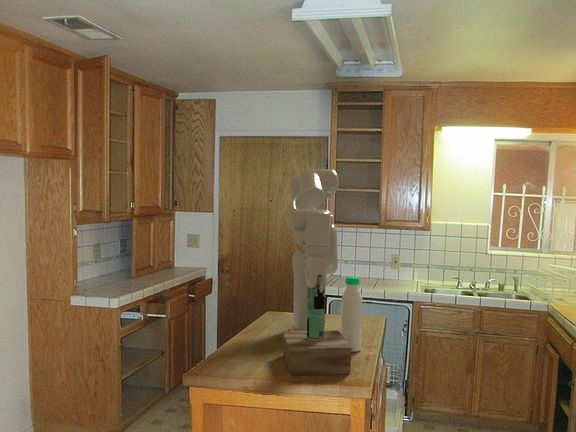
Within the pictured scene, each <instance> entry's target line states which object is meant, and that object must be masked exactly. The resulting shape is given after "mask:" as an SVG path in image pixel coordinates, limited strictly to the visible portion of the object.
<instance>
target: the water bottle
mask: <svg viewBox="0 0 576 432" xmlns="http://www.w3.org/2000/svg"><path fill="white" fill-rule="evenodd" d="M360 280H361V279H360V278H359V277H358V276H351V275H350V276H346V278H345V286H346V288H345V290H344V292H343V294H342V296H341V301H342V302H341V329H340V331H341V332H340V333H341V334H342V336H343V337H344V338H345V339H346V340H347V342H348V343H349V344H350V345H351V347H352V350H351V353H355V352H359V351H361V349H362V331H363V330H362V323H363V303H362V302H363V296H362V293H361V291H360V289H359V285H360V282H361V281H360Z"/></svg>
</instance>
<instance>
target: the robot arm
mask: <svg viewBox="0 0 576 432" xmlns="http://www.w3.org/2000/svg"><path fill="white" fill-rule="evenodd" d="M339 180H340V179H339V175H338V174H337V172H336V170H334V169H331V168H330V169H329V168H308V169H304V170H302V171H301V173H300V174H299V176H295V177H293V178H291V179H290V181H289V192H290V193H289V194H290V198H291V201H290V203H289V206H288V223H289V224H288V225H289V228H290V229H291V230H292V232H295V239H296V242H297V244H298V245H299V246H302V247H305V249H299V250H296V251H294V253H293V254H292V259H291V262H292V263H291V264H292V271H293V324H291V325H290V326H289V328H288V331H307V300H308V286H309V288H311V289H312V288H314V289H315V296H314V309H324V308H325V307H326V291H325V292H324V288H325V289H326V287H327V275H334V274H335V273H336V272H337V270H338V265H339V263H338V259H339V258H338V231H337V228H336V226H335V224H334V215H333V214H332V213H331V211H330V210H328V209H324V208H321V209H318V208H317V207H320V206H321V205H322V204H323V202H324V201H325V199H331V198H333V197H334V196H335V194H336V193H337V192H338V189H339V184H340V183H339V182H340V181H339ZM317 278H318V281H317ZM325 309H326V308H325Z"/></svg>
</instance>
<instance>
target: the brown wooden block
mask: <svg viewBox="0 0 576 432" xmlns="http://www.w3.org/2000/svg"><path fill="white" fill-rule="evenodd" d="M282 337H283V351H282V352H283V353H282V355H283V358H284V362H285V364H286V367H287V369H288V372H289V375H290V376H312V375H313V376H314V375H315V376H316V375H346V374H347V375H350V374H351V362H352V361H351V359H352V352H351V350H352V347H351V345H350V344H349V343H348V342H347V340H346V339H345V338H344V337H343V336H342V334H341V332H340V330H337V329H335V330H331V329H330V330H328V329H327V330H324V340H322V341H310V340H308V339H307V331H290V330H283V331H282Z"/></svg>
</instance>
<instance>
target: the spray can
mask: <svg viewBox="0 0 576 432" xmlns="http://www.w3.org/2000/svg"><path fill="white" fill-rule="evenodd" d="M317 281H318V278H317ZM324 292H325V293H326V287H325V288H324ZM314 296H315V289H314V288H312V289H311V288H309V286H308V300H307V339H308V340H310V341H322V340H324V331H325V327H326V326H325V325H326V324H325V323H326V322H325V318H326V317H325V316H326V314H325V313H326V312H325V311H326V308H324V309H314Z"/></svg>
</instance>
